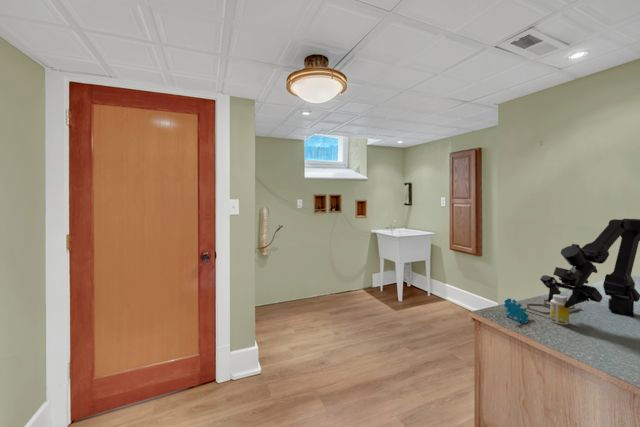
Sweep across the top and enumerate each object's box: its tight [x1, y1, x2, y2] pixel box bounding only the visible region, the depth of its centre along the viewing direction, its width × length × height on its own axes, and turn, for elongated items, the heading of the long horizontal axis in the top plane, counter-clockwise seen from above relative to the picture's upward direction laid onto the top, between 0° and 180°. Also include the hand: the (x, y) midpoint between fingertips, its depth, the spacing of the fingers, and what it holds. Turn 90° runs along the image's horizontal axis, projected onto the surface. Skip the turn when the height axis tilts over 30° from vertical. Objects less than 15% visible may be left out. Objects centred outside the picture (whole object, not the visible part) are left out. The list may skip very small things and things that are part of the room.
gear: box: [503, 298, 530, 324], centre depth 112 cm, size 11×6×10 cm
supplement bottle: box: [549, 294, 570, 326], centre depth 108 cm, size 6×6×10 cm
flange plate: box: [520, 299, 581, 319], centre depth 121 cm, size 22×12×2 cm, turn 113°
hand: (556, 304), depth 107 cm, fingers closed on supplement bottle, 5 cm apart
